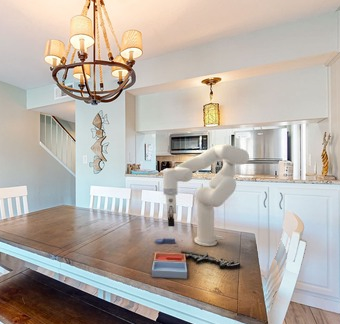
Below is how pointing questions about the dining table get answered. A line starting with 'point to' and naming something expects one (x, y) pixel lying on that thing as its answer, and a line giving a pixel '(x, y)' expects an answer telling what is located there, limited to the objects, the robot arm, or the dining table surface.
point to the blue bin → (169, 269)
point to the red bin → (169, 255)
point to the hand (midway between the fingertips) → (170, 223)
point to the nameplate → (210, 260)
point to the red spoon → (170, 258)
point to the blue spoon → (165, 240)
